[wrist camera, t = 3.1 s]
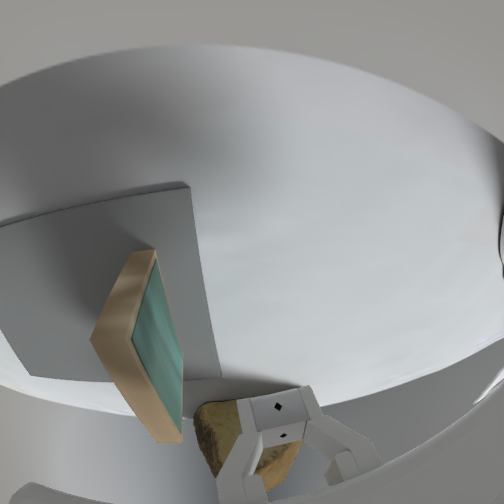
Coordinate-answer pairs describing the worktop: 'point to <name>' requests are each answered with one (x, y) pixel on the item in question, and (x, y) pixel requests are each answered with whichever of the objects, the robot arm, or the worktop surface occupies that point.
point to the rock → (225, 435)
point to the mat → (99, 281)
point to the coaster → (143, 347)
